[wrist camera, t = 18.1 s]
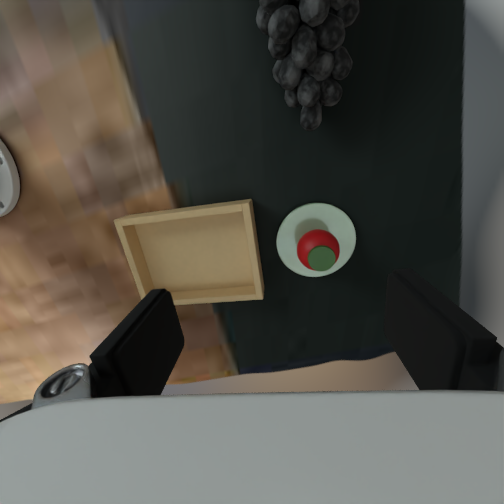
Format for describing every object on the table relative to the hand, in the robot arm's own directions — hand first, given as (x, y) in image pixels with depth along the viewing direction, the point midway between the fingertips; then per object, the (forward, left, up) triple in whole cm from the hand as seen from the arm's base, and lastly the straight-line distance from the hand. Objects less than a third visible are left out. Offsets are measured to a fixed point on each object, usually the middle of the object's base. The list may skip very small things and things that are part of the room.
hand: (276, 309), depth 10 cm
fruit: (+3, +15, -19) cm, 25 cm away
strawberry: (+4, -3, -18) cm, 19 cm away
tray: (-11, -4, -19) cm, 22 cm away
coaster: (+4, -4, -19) cm, 19 cm away
